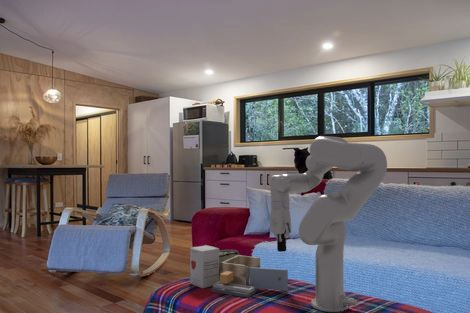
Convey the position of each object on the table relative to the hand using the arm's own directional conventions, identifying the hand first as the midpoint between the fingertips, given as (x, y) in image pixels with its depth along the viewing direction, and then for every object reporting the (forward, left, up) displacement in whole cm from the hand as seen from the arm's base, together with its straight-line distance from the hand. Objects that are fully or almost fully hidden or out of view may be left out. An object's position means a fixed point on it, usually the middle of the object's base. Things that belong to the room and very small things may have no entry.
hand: (281, 251), depth 158 cm
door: (+4, +6, -15) cm, 16 cm away
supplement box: (+30, +10, -15) cm, 35 cm away
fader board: (+15, +13, -15) cm, 25 cm away
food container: (+31, -9, -15) cm, 36 cm away
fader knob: (+18, +13, -13) cm, 26 cm away
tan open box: (+19, 0, -15) cm, 24 cm away
